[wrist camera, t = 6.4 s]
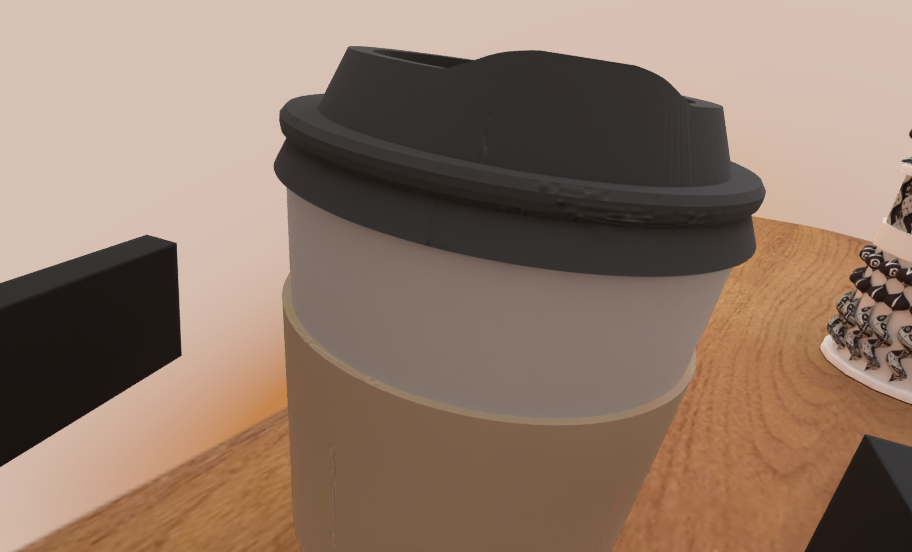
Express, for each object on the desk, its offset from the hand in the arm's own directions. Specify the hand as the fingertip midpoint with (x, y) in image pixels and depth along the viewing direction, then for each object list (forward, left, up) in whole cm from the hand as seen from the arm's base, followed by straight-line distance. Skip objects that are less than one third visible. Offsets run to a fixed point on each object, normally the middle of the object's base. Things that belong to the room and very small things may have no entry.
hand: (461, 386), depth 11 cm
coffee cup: (+1, +1, -9) cm, 9 cm away
